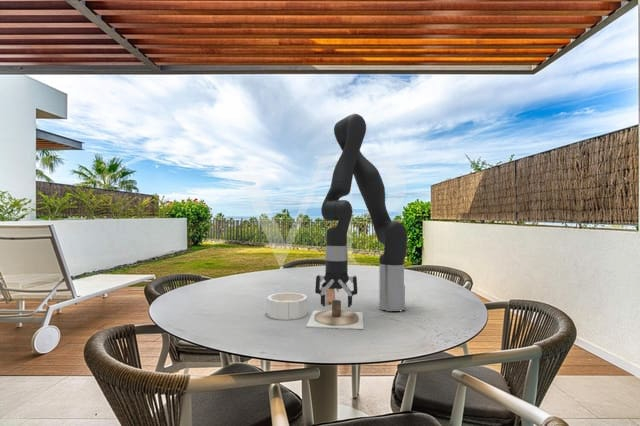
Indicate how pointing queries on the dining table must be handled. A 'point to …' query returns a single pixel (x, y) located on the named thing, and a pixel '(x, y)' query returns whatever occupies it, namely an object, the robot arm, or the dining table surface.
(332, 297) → the grandmother figurine
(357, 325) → the mat
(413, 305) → the dining table surface
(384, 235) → the robot arm
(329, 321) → the lid
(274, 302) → the bowl
